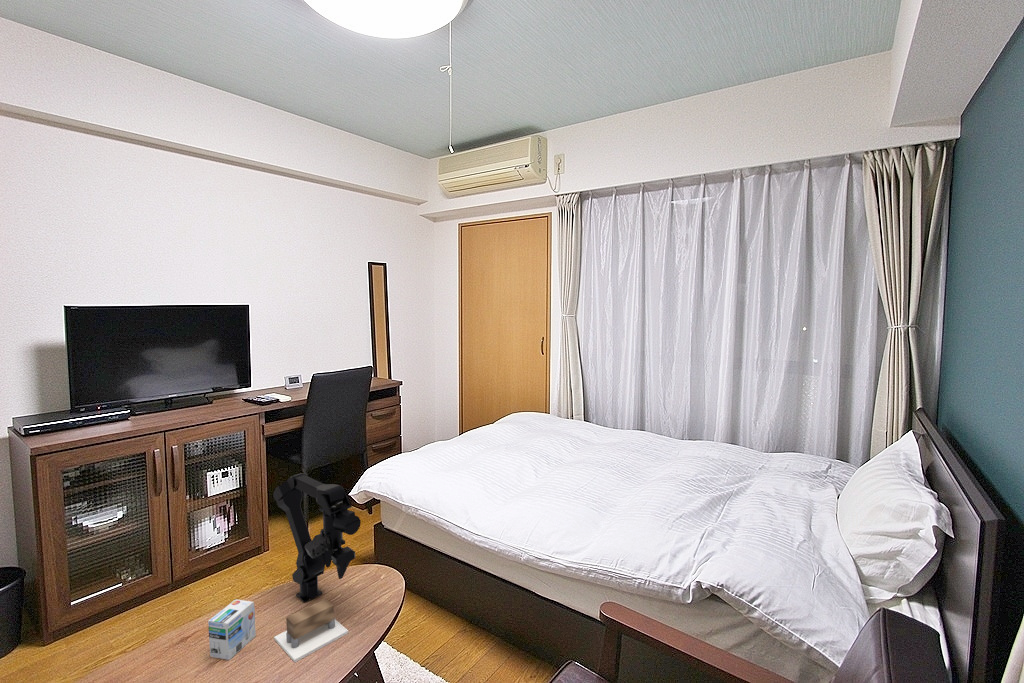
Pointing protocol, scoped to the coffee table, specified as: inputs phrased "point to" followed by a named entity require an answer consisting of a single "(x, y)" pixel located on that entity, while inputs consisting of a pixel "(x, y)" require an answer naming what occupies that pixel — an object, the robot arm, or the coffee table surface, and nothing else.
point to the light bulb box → (231, 629)
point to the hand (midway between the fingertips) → (334, 572)
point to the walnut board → (310, 618)
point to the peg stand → (310, 640)
